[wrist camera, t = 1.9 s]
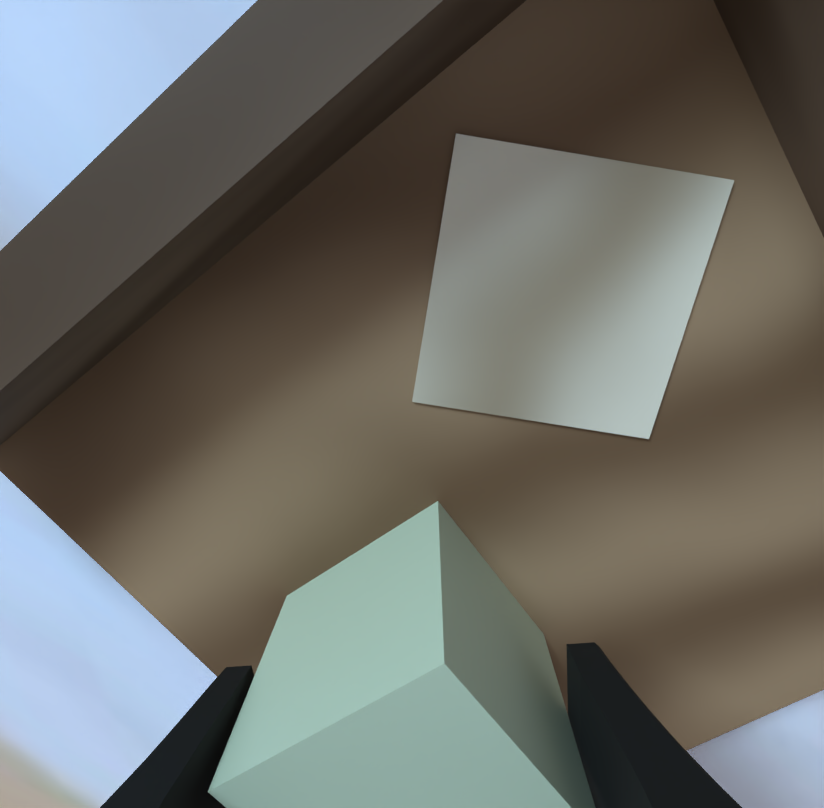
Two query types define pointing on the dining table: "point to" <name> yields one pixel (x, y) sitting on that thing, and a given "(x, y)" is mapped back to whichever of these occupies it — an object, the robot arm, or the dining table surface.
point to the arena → (455, 329)
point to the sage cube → (404, 690)
